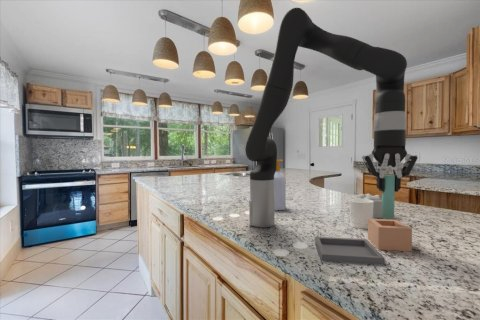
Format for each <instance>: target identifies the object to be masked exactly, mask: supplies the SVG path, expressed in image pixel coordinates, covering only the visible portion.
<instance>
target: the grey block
mask: <svg viewBox="0 0 480 320" xmlns="http://www.w3.org/2000/svg"><path fill="white" fill-rule="evenodd" d="M354 198H362V199H369V200H372V201H374V205H373V218H374V219H377V218H382V196H381V195H379V194H375V195H372V194H370V193H365V194H364V193H359V194H357V195H354Z"/></svg>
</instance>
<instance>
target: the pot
mask: <svg viewBox="0 0 480 320" xmlns="http://www.w3.org/2000/svg"><path fill="white" fill-rule="evenodd" d="M412 236H413V229H412V227H410V226H409V225H407V224H405V223H403V222H401V221H399V219H385V218H384V219H377V218H374V219H368V229H367V240H368V241H369V242H370V243H372V245H374V247H375V248H377V250H381V251H397V252H398V251H399V252H402V251H403V252H412V250H413V249H412V248H413V247H412V245H413V243H412V241H413V239H412V238H413V237H412Z"/></svg>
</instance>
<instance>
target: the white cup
mask: <svg viewBox="0 0 480 320" xmlns="http://www.w3.org/2000/svg"><path fill="white" fill-rule="evenodd" d="M373 205H374V201H372V200H369V199H362V198H355V197H354V198H349V199H348V213H349V224H350V226H351V227H353V228H356V229H365V230H366V229H367V230H368V219H373Z"/></svg>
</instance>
